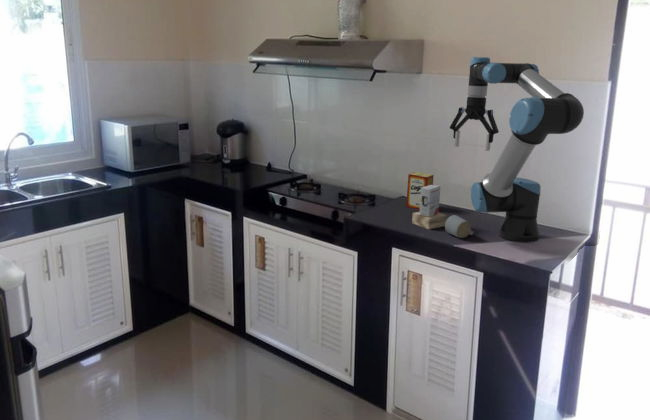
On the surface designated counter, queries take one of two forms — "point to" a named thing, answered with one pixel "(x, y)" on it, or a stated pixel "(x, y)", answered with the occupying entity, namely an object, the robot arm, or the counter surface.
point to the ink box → (429, 200)
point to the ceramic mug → (458, 226)
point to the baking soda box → (417, 188)
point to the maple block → (429, 220)
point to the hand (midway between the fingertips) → (471, 148)
